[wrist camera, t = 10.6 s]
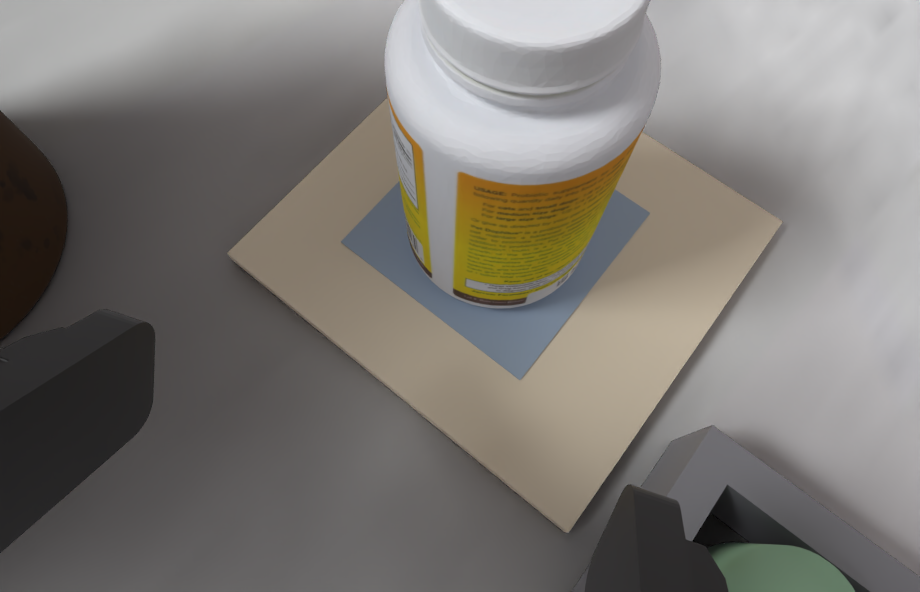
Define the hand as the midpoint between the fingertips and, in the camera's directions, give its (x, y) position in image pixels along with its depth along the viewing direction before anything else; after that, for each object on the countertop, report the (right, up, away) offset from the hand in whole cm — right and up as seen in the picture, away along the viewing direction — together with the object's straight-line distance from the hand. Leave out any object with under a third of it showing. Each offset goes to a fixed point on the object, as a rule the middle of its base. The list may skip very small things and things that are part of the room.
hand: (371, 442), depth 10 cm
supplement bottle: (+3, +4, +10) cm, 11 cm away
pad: (+3, +4, +10) cm, 11 cm away
